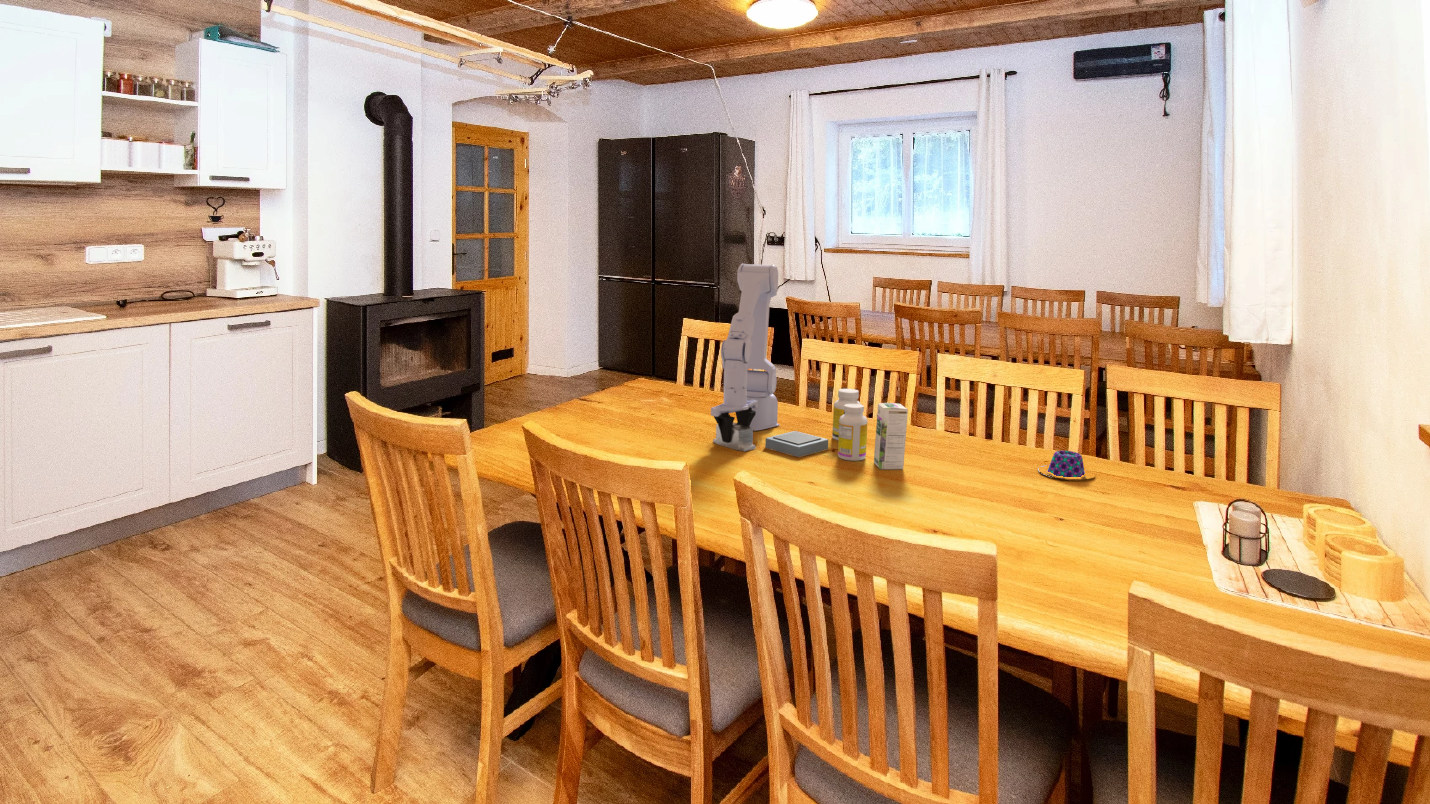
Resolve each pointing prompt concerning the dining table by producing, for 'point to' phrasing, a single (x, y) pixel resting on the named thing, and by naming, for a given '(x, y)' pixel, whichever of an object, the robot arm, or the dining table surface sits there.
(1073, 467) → the polka-dot brimmed hat
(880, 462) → the syrup box
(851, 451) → the supplement bottle
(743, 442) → the housing
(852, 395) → the supplement bottle
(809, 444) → the stand
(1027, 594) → the dining table surface
